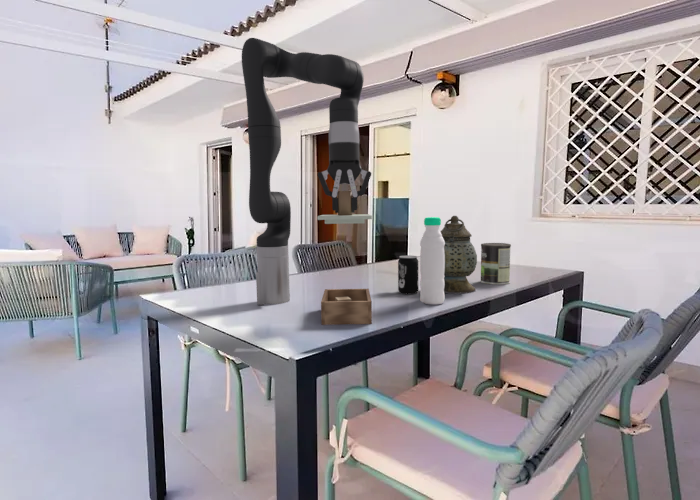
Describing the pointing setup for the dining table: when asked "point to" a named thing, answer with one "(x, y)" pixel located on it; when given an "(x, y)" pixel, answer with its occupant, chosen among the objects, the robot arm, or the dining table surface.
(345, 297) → the maple cube
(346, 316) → the box
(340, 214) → the lid
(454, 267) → the lantern
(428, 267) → the water bottle
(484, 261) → the coffee can
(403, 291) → the beverage can
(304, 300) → the dining table surface
